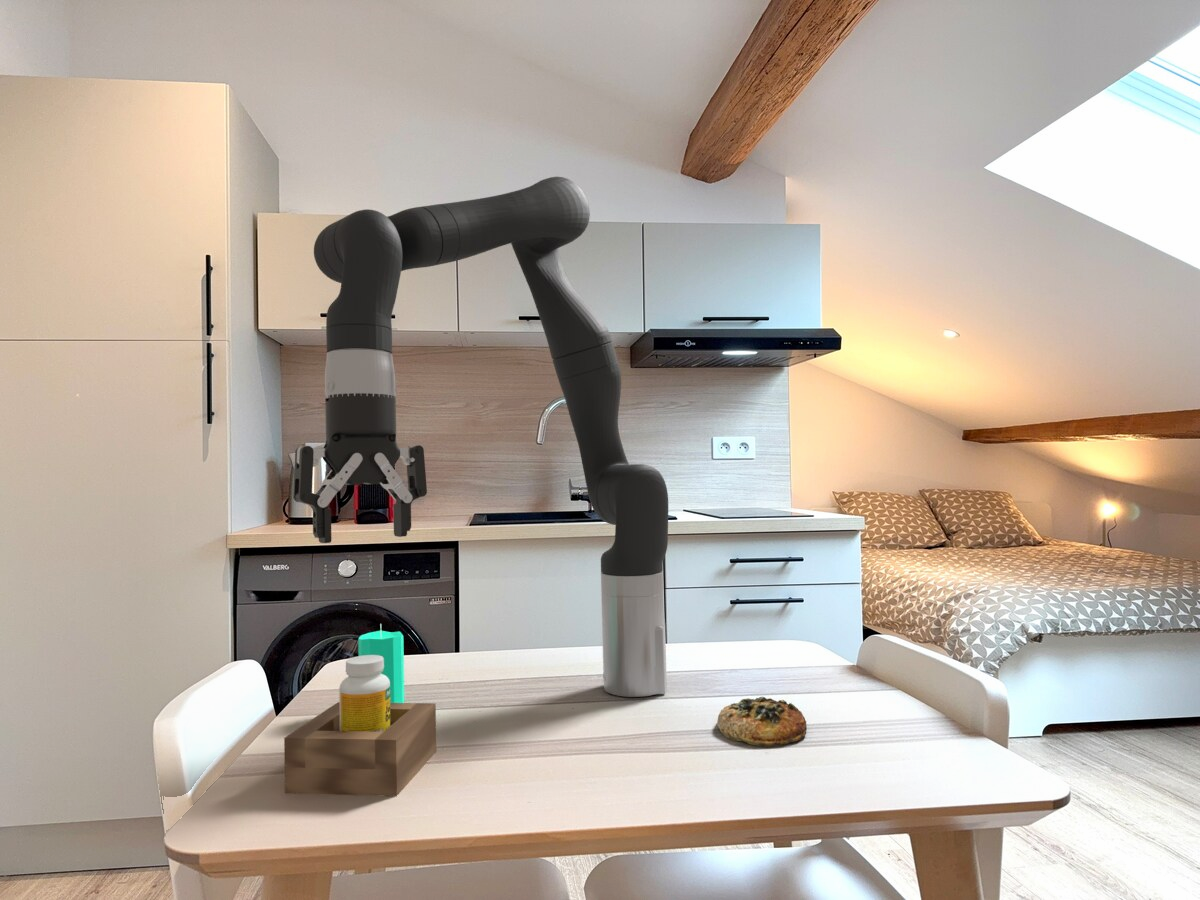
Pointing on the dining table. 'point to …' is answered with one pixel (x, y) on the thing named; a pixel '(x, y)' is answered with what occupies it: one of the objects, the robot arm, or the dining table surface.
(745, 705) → the bread roll
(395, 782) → the walnut tray
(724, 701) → the dining table surface
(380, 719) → the supplement bottle
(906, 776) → the dining table surface
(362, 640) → the candle
